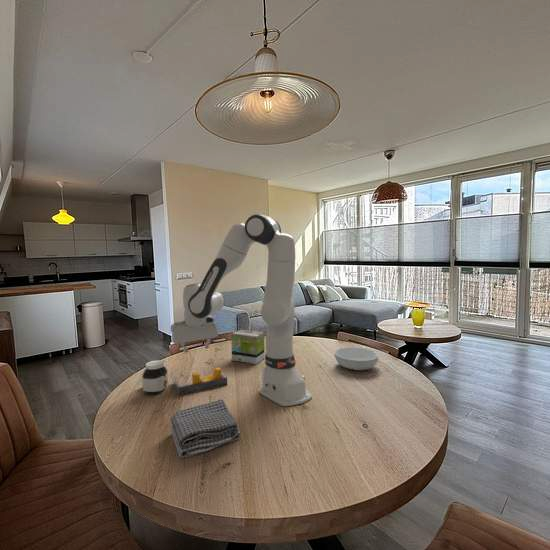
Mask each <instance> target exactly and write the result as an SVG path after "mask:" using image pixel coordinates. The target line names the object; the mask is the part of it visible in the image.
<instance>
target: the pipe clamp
mask: <svg viewBox="0 0 550 550" xmlns="http://www.w3.org/2000/svg"><path fill="white" fill-rule="evenodd" d="M222 373H223V371H222V368H221V367H215V368H214V372H213V374H210V375H209V376H207V377H204V378H203V379H201V377H200V374H199V373H197V372H194V373H192V374H191V376H192V377H191V378H192V384H196V383H201V382H206V381H210V380H215V379H220V378H222Z"/></svg>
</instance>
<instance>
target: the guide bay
mask: <svg viewBox="0 0 550 550" xmlns="http://www.w3.org/2000/svg"><path fill="white" fill-rule="evenodd" d="M172 377H173V378H172V379H173V380H172V381H173V385H174V388H175V387H176V388H175V389H177V390H176V392H177V393H178V396H179V395H180V396H183V394H184V395H188V393H189V394H193V393H197V392H201V391H206V390H209V389H210V390H211V389H214V388H219V387H220V388H221V387H223V386H227V385H228V377H227V376H226V375H225V374H224V372H222V378H220V379H215V380H210V381H206V382H201V383H196V384H193V383H191V384H187V385H183V386H181V384H180V382H179V380H178V378H177V376H172ZM192 392H193V393H192Z"/></svg>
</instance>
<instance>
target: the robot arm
mask: <svg viewBox="0 0 550 550" xmlns="http://www.w3.org/2000/svg"><path fill="white" fill-rule="evenodd" d="M294 239H295V238H294V237H293V236H292V235H291V234H289V233H286V232H282V228H281V225H280V224H279V222H278V221H276V220H275V219H273V218H272V217H270V216H268V215H265V214H262V213H256V214H252V215H251V216H249V217H248V219H246V221H245V223H244V222H236V223H234V224H233V225H232V226H231V228H230V229H229V231H228V232H227V234H226V236H225V238H224V240H223V242H222V244H221V246H220V249H219V250H218V252H217V254H216V257H215V259H214V260H213V262H212V263H211V265H210V267H209V268H208V271H207V272H206V274H205V276H204V277H203V280H202V282H200V283H199V282H198V283H192V284H187V285H186V286H184V288H183V292H182V302H183V307H184V313H183V317H184V320H183V321H178V322H176V321H175V322H174V323H172V324H171V326H170V331H171V341H172V343H173V344H174V345H179V344H180V346H181V347H182V348H183V353H188V352H189V349H188V348H189V347H185V345H186V343H191V342H196V341H201V340H202V341H203V340H207V341H206V343H204V349H209V348H210V343H211V342H212V339H213V338H217V337H218V336H219V328H218V325H217V322H216V318H215V317H214V316H212V315H211V314H214V313H216V312H218V311H220V310H222V309H223V306H224V305H225V298H224V295H223V294H222V293H221V292H220V291H218V290H217V289H218V286H219V285H220V283H221V281H222V280H223V278H225V276H227V275H229V273H231V272H233V271H235V270H237V269H238V268H240V267H241V265H242V264H243V262H244V260H245V259H246V257H247V254H248V252H249V250H250V248H251V246H252V245H253V244H254V243H258V244H261V245H264V246H266V247H267V249H268V256H267V273H266V274H267V275H266V282H265V283H266V284H265V288H264V294H263V299H262V306H261V309H260V314H261V318H262V320H263V322H265V323H266V324H267V328H266V329H267V330H266V335H265V351H266V352H265V354H264V361H265V362H264V364H265V367H264V369H263V371H262V376H261V387H260V388H259V389H258V393H259V394H261V395H262V396H263V397H265V398H267V399H269V400H271V401H273V402H274V403H276V404H277V405H279V406H281V407H289V406H296V405H300V404H303V403H306V402H308V401H310V400H311V399H313V395H312V393H311V392H310V391H309V390H308V389H307V387H306V382H305V380H306V377H305V375H303V374H301V373H300V370H299V369H298V367H297V366H296V363H297V360H296V358H295V354H294V345H293V344H294V342H293V341H294V339H293V337H294V327H295V325H294V324H295V309H296V308H295V300H294V298H293V297H292V296H293V295H292V294H293V288H294V283H295V272H296V245H295V244H296V243H295V240H294Z"/></svg>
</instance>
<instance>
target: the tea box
mask: <svg viewBox="0 0 550 550" xmlns="http://www.w3.org/2000/svg"><path fill="white" fill-rule="evenodd" d="M230 339H231V342H230V343H231V361H235V362H240V363H241V362H242V363H247V364H252V365H258V364H259V363H260V362H262V361H263V360H265V332H264V331H255V330H247V329H239V330H237V331H235V332H233V333H231V338H230ZM262 359H263V360H262ZM257 363H258V364H257Z"/></svg>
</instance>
